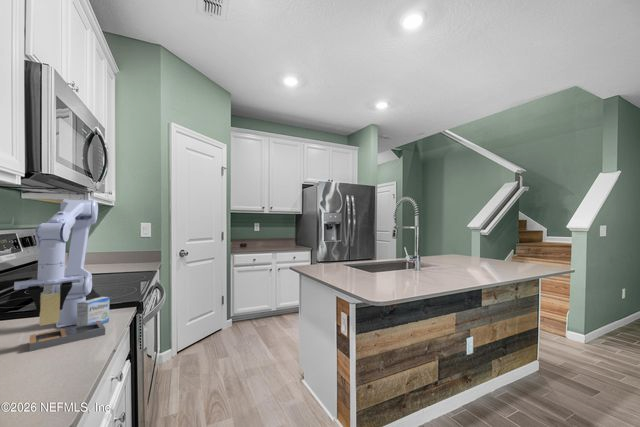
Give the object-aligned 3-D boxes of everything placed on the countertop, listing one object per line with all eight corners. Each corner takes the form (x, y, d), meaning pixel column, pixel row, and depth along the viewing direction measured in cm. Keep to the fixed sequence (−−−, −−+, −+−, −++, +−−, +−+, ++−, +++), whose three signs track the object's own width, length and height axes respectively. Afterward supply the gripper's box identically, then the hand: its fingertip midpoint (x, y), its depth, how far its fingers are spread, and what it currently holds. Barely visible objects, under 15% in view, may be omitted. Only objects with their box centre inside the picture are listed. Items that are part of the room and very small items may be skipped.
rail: (29, 342, 81) (29, 335, 81) (100, 328, 93) (100, 321, 93) (29, 351, 76) (29, 343, 76) (105, 334, 88) (105, 327, 88)
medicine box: (86, 329, 92) (87, 302, 93) (75, 328, 93) (76, 302, 93) (109, 321, 100) (110, 296, 100) (99, 320, 101) (99, 296, 101)
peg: (39, 322, 81) (40, 294, 82) (58, 319, 84) (59, 292, 85) (39, 325, 79) (40, 296, 79) (59, 322, 82) (60, 294, 82)
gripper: (14, 267, 74) (12, 319, 74) (85, 262, 85) (83, 308, 84) (15, 265, 79) (13, 314, 79) (82, 260, 90) (81, 303, 89)
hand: (49, 310), depth 82 cm, fingers closed on peg, 4 cm apart
